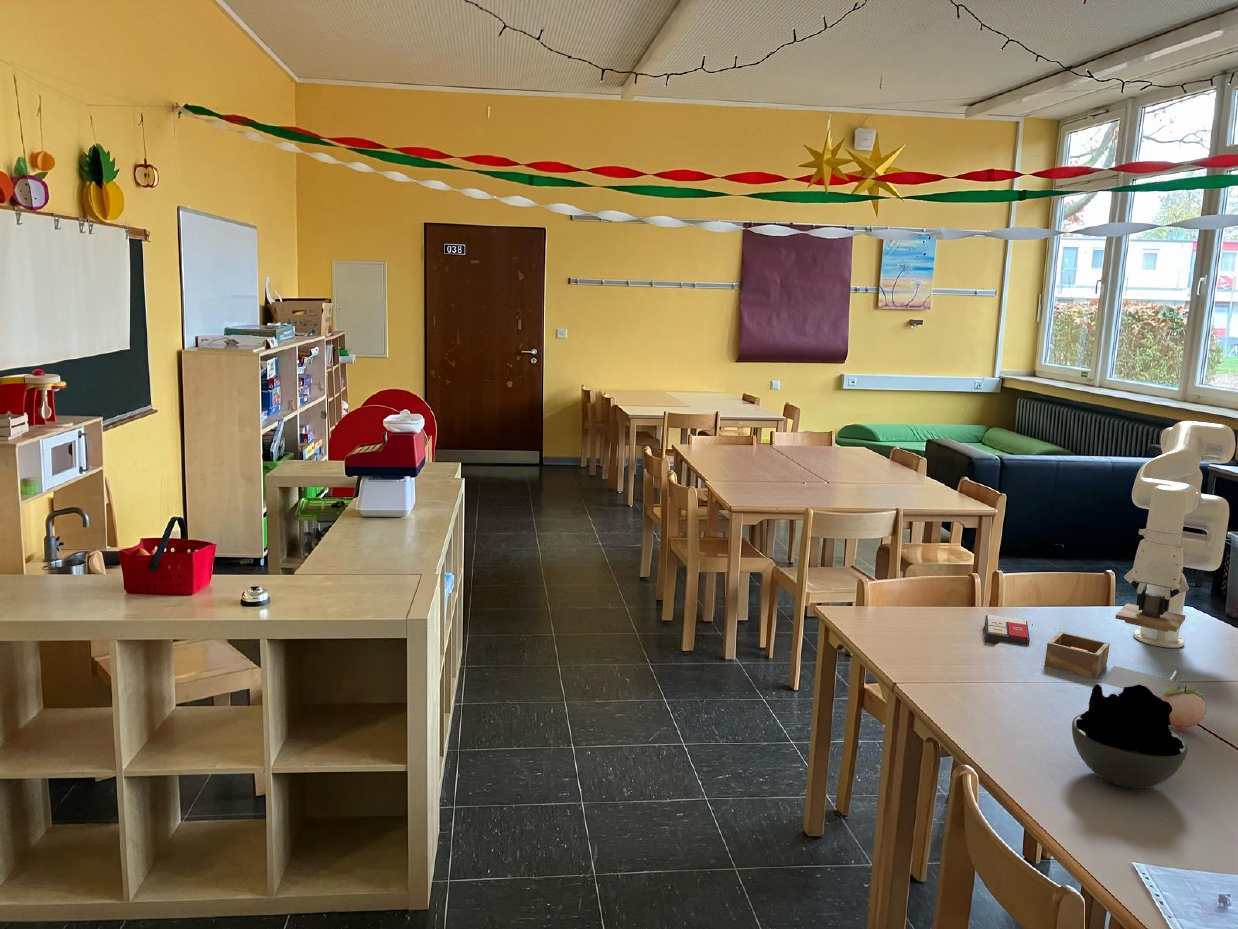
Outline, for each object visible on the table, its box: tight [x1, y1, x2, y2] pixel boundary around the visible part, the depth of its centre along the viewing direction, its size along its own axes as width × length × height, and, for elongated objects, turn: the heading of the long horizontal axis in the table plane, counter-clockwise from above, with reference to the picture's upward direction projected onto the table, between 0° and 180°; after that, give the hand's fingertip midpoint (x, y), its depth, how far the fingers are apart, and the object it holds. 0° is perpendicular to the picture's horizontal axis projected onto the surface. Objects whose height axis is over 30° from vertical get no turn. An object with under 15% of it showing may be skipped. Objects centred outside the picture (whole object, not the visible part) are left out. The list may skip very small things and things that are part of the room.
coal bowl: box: [1071, 683, 1189, 789], centre depth 193 cm, size 20×20×19 cm
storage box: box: [1044, 631, 1111, 680], centre depth 253 cm, size 12×12×7 cm
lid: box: [1114, 592, 1187, 632], centre depth 241 cm, size 13×13×7 cm
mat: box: [1100, 665, 1181, 698], centre depth 244 cm, size 15×15×1 cm
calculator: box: [983, 614, 1031, 646], centre depth 275 cm, size 11×4×15 cm
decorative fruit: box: [1161, 685, 1207, 730], centre depth 219 cm, size 9×8×10 cm
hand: (1151, 610), depth 241 cm, fingers closed on lid, 4 cm apart
